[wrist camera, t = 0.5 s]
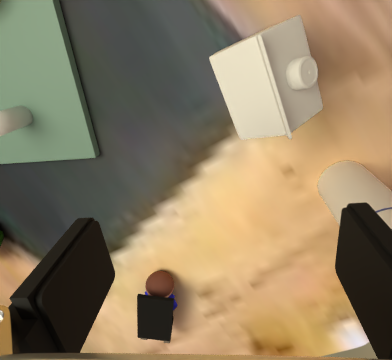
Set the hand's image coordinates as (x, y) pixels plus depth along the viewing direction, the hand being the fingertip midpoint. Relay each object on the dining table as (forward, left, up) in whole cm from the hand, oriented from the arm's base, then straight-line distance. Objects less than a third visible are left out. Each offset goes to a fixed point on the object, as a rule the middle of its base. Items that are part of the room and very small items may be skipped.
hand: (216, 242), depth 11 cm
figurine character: (+36, -14, -30) cm, 49 cm away
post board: (-9, -28, -30) cm, 42 cm away
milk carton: (-4, +4, -30) cm, 30 cm away
